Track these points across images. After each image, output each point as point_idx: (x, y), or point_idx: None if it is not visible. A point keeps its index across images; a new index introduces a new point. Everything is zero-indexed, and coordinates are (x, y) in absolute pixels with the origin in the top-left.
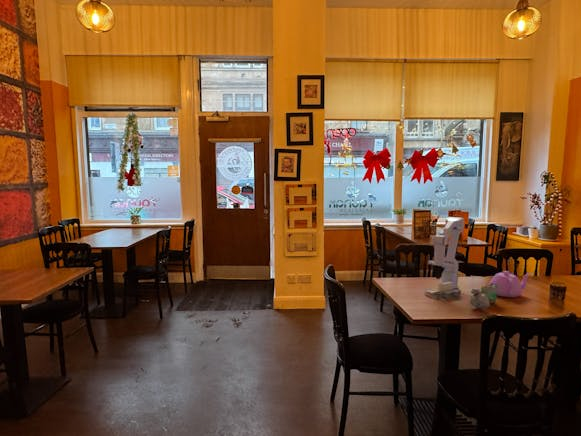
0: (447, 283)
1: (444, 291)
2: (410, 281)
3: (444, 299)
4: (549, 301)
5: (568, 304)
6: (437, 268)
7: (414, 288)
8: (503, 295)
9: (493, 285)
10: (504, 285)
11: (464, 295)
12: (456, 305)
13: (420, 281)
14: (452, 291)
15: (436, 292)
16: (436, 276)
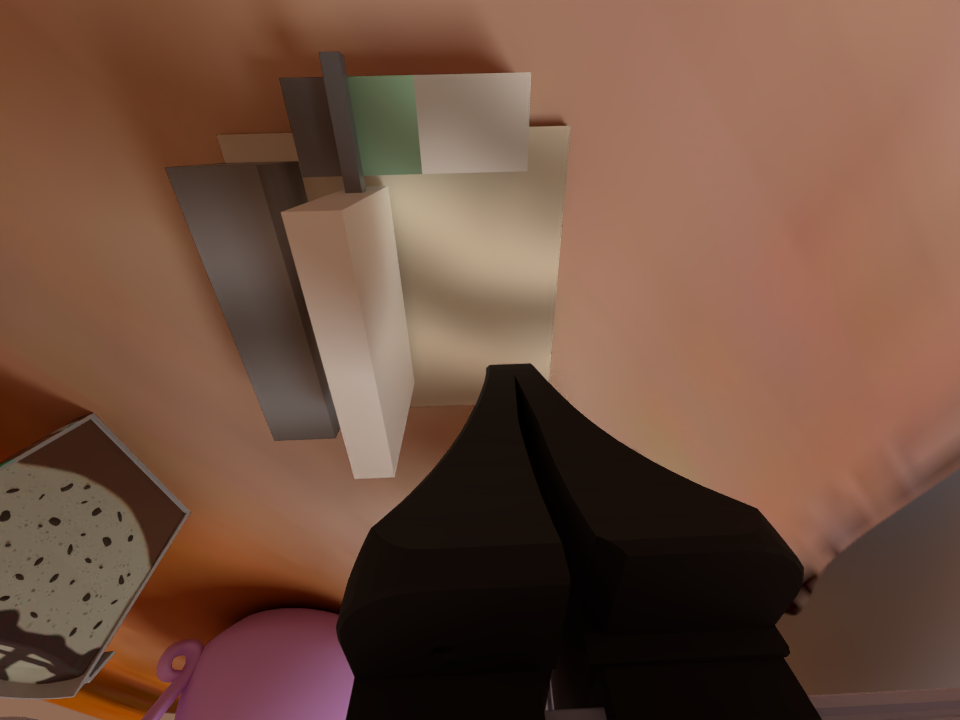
0: (333, 394)
1: (276, 237)
2: (933, 354)
3: (239, 159)
4: (160, 693)
5: (111, 711)
6: (437, 543)
7: (784, 186)
8: (241, 621)
9: (31, 672)
10: (196, 712)
11: None
12: (11, 130)
13: (839, 433)
14: (259, 340)
15: (333, 126)
16: (521, 379)
